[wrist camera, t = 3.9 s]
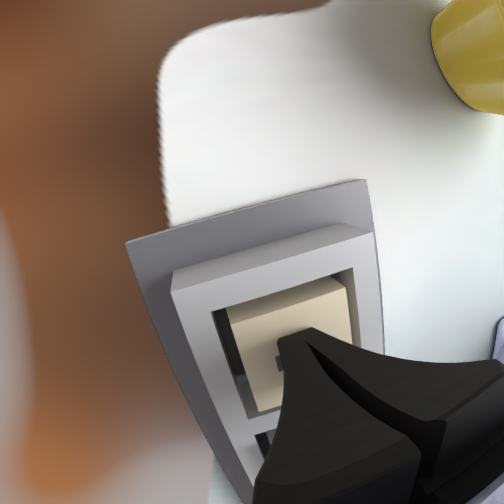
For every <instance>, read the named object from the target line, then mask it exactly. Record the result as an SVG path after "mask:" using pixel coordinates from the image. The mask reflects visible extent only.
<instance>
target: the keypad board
mask: <svg viewBox="0 0 504 504" xmlns="http://www.w3.org/2000/svg"><path fill="white" fill-rule="evenodd" d="M125 246H126V250H127V253H128V255H129V259H130V262H131V265H132V268H133V271H134V274H135V276H136V279H137V282H138V285H139V288H140V290H141V293H142V296H143V299H144V301H145V304H146V307H147V309H148V312H149V314H150V317H151V320H152V322H153V325H154V327H155V330H156V332H157V334H158V337H159V339H160V342H161V344H162V346H163V349H164V351H165V354H166V356H167V358H168V361H169V363H170V365H171V367H172V370H173V372H174V374H175V376H176V378H177V381H178V383H179V385H180V387H181V389H182V391H183V393H184V396H185V398H186V400H187V402H188V404H189V406H190V408H191V410H192V412H193V414H194V416H195V418H196V420H197V422H198V424H199V426H200V428H201V430H202V432H203V433H204V435H205V437H206V439H207V441H208V443H209V445H210V446H211V448H212V450H213V452H214V454H215V456H216V457H217V459H218V461H219V463H220V464H221V466H222V468H223V470H224V471H225V473H226V475H227V476H228V478H229V480H230V482H231V483H232V485H233V487H234V488H235V490H236V491H237V493H238V495H239V496H240V498H241V499H242V501H243V503H244V504H252V499H253V491H254V483H255V478H256V476H257V474H258V472H259V470H260V468H261V467H262V465H263V463H264V460H265V458H266V456H267V454H268V451H269V449H270V446H271V445H270V442H269V440H268V437H267V434H266V431H269V430H272V429H275V428H277V425H278V420H279V416H280V411H281V405H280V406H277V407H274V408H271V409H268V410H265V411H261V412H259V411H258V408H257V405H256V402H255V399H254V396H253V393H252V390H251V387H250V384H249V381H248V378H247V375H246V372H245V369H244V366H243V362H242V359H241V356H240V353H239V350H238V347H237V344H236V340H235V337H234V334H233V331H232V328H231V324H230V321H229V318H228V315H227V311H226V308H225V307H229V306H232V305H235V304H239V303H242V302H246V301H249V300H252V299H255V298H259V297H262V296H265V295H269V294H272V293H275V292H278V291H281V290H285V289H288V288H291V287H294V286H297V285H300V284H303V283H306V282H310V281H313V280H316V279H319V278H322V277H325V276H328V275H329V276H330V277H332V278H333V279H335V280H336V281H337V282H339V283H340V284H342V285H343V286H344V287H346V294H347V302H348V310H349V318H350V327H351V336H352V345H354V346H357V347H360V348H363V349H366V350H369V351H372V352H375V353H379V354H382V355H385V346H384V324H383V307H382V294H381V283H380V272H379V263H378V254H377V246H376V238H375V231H374V223H373V217H372V210H371V204H370V198H369V192H368V186H367V181H366V180H365V179H358V180H354V181H349V182H345V183H341V184H336V185H332V186H328V187H324V188H319V189H315V190H311V191H307V192H303V193H299V194H295V195H291V196H287V197H283V198H279V199H275V200H271V201H267V202H263V203H260V204H256V205H252V206H248V207H244V208H241V209H237V210H233V211H230V212H226V213H222V214H219V215H215V216H211V217H208V218H204V219H201V220H197V221H194V222H190V223H187V224H183V225H180V226H176V227H173V228H169V229H166V230H163V231H159V232H156V233H153V234H150V235H146V236H143V237H139V238H136V239H133V240H130V241H127V242H126V243H125Z"/></svg>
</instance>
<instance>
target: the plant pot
mask: <svg viewBox="0 0 504 504" xmlns="http://www.w3.org/2000/svg"><path fill="white" fill-rule="evenodd" d="M431 41H432V47H433V51H434V54H435V57H436V60H437V62H438V64H439V67H440V69H441V71H442V73H443V75H444V77H445V78H446V80H447V82H448V83H449V85H450V86H451V88H452V89H453V90H454V92H455V93H456V94H457V95H458V96H459V97H460V98H461V100H463V101H464V102H465V103H466V104H467V105H469V106H470V107H472V108H473V109H475V110H478V111H481V112H487V113H493V114H500V115H504V0H452V1H451V2H450V3H449V4H448V5H447V6H446V7H445V8H444V9H443V10H442V11H441V12H440V13H439V14H437V15H436V16H435V18H434V19H433V22H432V25H431Z"/></svg>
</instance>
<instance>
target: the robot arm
mask: <svg viewBox="0 0 504 504" xmlns="http://www.w3.org/2000/svg"><path fill="white" fill-rule="evenodd" d="M277 346H278V350H279V354H280V358H281V362H282V366H283V370H284V387H283V399H282V405H281V411H280V416H279V420H278V425H277V428H276V432H275V435H274V438H273V440H272V443H271V446H270V449H269V451H268V454H267V456H266V458H265V460H264V463H263V465H262V467H261V468H260V470H259V472H258V474H257V476H256V478H255V483H254V491H253V499H252V504H504V318H503V319H502V320H501V321H500V323H499V325H498V330H497V336H496V342H495V348H494V353H493V358H492V359H490V360H482V361H474V362H463V363H433V362H422V361H413V360H406V359H400V358H396V357H391V356H386V355H382V354H379V353H375V352H372V351H369V350H366V349H363V348H360V347H357V346H354V345H352V344H349V343H347V342H344V341H342V340H340V339H337V338H335V337H333V336H331V335H328V334H326V333H324V332H322V331H320V330H318V329H315V328H313V327H311V328H308V329H305V330H302V331H299V332H296V333H294V334H291V335H288V336H285V337H282V338H279V339H278V341H277Z"/></svg>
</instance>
